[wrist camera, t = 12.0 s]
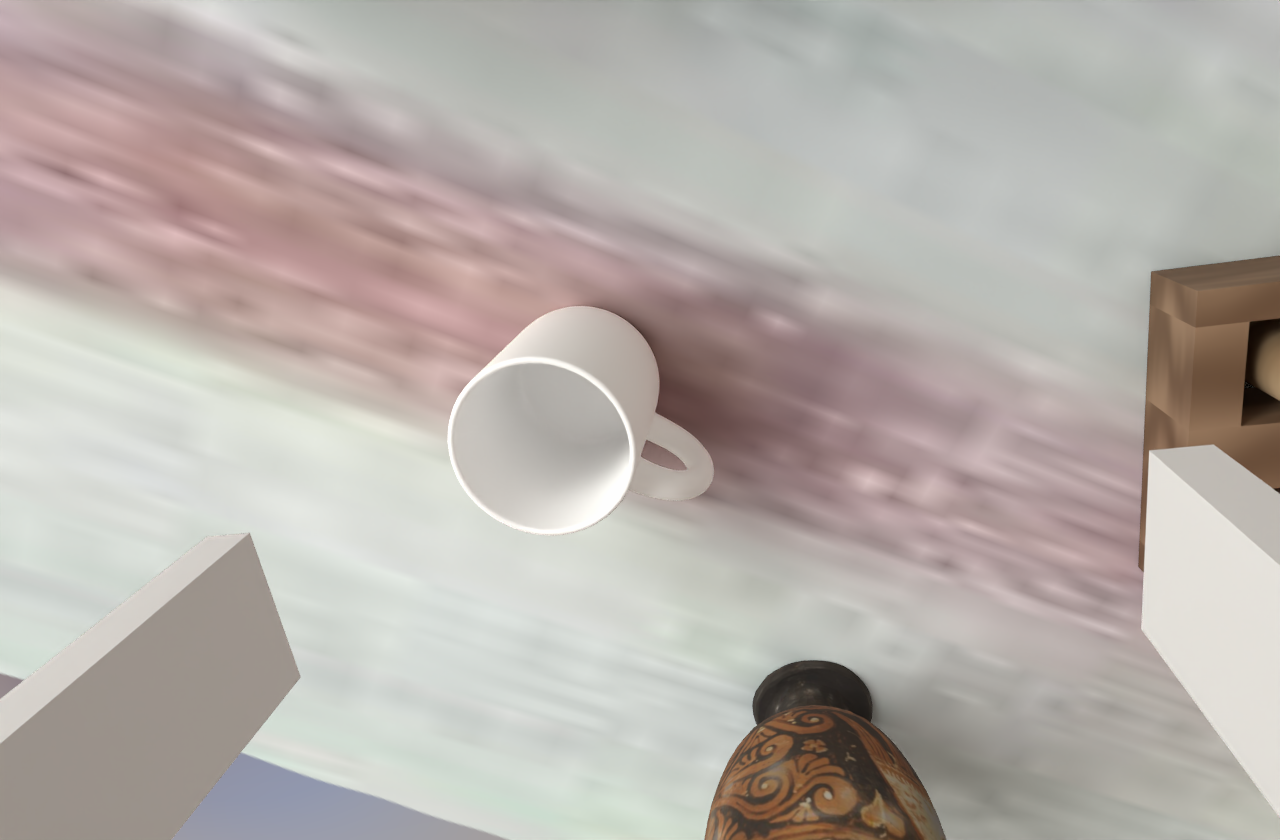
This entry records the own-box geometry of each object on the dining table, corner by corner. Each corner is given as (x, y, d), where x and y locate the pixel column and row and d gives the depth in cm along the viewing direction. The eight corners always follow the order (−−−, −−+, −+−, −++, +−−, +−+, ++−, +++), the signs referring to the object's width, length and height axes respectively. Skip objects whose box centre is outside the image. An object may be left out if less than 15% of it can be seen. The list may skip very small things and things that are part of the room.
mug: (751, 376, 44) (750, 451, 34) (682, 500, 47) (664, 601, 38) (546, 274, 44) (486, 322, 34) (490, 407, 47) (420, 485, 37)
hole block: (1151, 271, 40) (1197, 291, 35) (1366, 244, 38) (1441, 262, 34) (1138, 566, 45) (1177, 613, 41) (1326, 553, 43) (1387, 601, 39)
